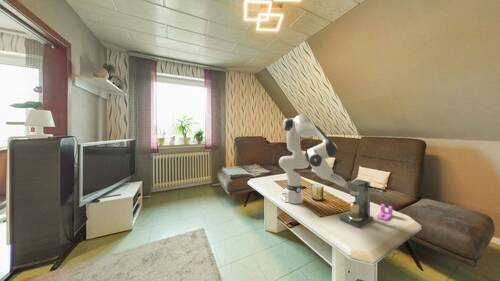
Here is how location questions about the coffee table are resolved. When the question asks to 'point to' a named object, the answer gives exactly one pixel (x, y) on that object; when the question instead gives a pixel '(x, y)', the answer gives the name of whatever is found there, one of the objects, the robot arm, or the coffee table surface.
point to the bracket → (385, 213)
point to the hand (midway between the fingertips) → (332, 181)
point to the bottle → (354, 210)
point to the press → (360, 202)
